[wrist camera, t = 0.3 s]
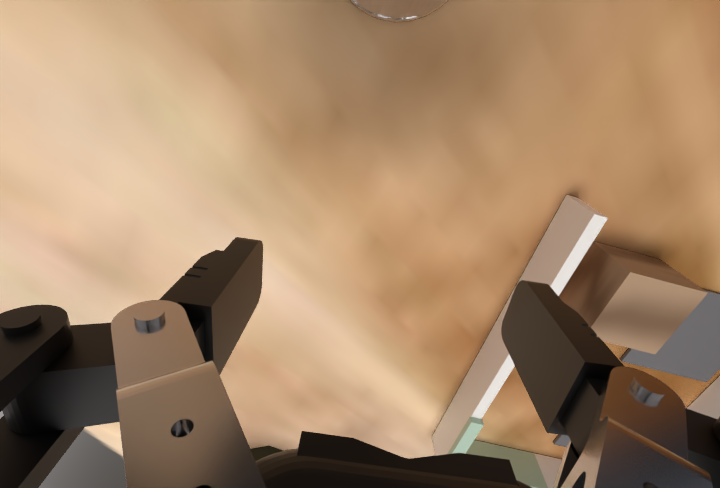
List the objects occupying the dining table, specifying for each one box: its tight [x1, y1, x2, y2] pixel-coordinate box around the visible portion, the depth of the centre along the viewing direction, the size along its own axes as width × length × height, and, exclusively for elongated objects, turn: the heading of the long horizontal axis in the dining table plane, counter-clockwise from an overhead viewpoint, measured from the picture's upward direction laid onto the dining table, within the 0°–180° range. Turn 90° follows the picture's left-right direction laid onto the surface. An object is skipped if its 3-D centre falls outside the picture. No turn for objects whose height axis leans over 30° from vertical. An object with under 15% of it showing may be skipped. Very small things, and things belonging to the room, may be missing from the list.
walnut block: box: [559, 241, 708, 354], centre depth 29 cm, size 6×6×5 cm
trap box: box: [432, 195, 720, 488], centre depth 33 cm, size 30×24×5 cm
